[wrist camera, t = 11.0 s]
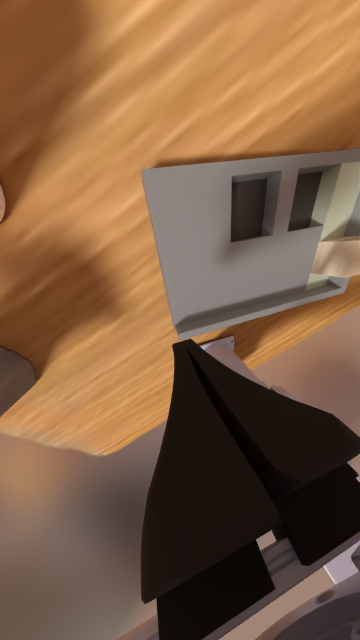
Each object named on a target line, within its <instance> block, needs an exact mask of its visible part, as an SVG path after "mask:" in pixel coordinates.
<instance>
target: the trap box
mask: <svg viewBox="0 0 360 640" xmlns="http://www.w3.org/2000/svg"><path fill="white" fill-rule="evenodd" d="M142 182H143V187H144V192H145V196H146V201H147V206H148V211H149V215H150V220H151V225H152V229H153V234H154V239H155V243H156V248H157V253H158V257H159V262H160V267H161V272H162V276H163V281H164V286H165V290H166V295H167V300H168V304H169V309H170V314H171V318H172V323H173V327H174V329H175V331H176V333H177V336H178V338H179V340H184V339H187V338H190V337H194V336H197V335H201V334H204V333H208V332H211V331H215V330H218V329H222V328H225V327H228V326H232V325H235V324H239V323H242V322H246V321H249V320H253V319H256V318H260V317H263V316H266V315H270V314H273V313H277V312H280V311H284V310H287V309H291V308H294V307H298V306H301V305H304V304H308V303H311V302H315V301H318V300H322V299H325V298H329V297H332V296H335V295H339V294H342V293H344V292H345V290H346V287H347V285H348V283H349V281H350V278H351V277H347V278H341V277H334V276H327V275H320V274H313V273H310V272H311V269H312V265H313V262H314V258H315V255H316V252H317V248H318V245H319V242H322V241H326V240H331V239H336V238H340V237H351V236H360V149H350V150H339V151H329V152H318V153H308V154H297V155H287V156H276V157H266V158H255V159H245V160H234V161H224V162H213V163H203V164H192V165H182V166H171V167H161V168H150V169H142Z"/></svg>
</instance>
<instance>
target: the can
mask: <svg viewBox="0 0 360 640" xmlns="http://www.w3.org/2000/svg"><path fill="white" fill-rule="evenodd" d="M4 213H5V198H4V194H3V190H2V188H1V185H0V221H1V220H2V218H3V216H4Z"/></svg>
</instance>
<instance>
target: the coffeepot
mask: <svg viewBox="0 0 360 640" xmlns="http://www.w3.org/2000/svg"><path fill="white" fill-rule="evenodd" d="M35 384H36V374H35V370H34V368H33V366H32V365H31V363H30V362H29V361H28V360H27V359H25V358H24V357H23V356H21V355H19V354H18V353H16V352H13V351H11V350H9V349H5V348H2V347H0V417H1V416H2V415H3V414H4V413H5V412H6V411H7V410H8V409H9V408H10V407H11V406H12V405H14V404H15V403H16V402H17V401H18V400H19V399H20V398H21V397H22V396H23V395H24V394H25V393H26V392H27V391H28V390H30V389H31V388H32V387H33V386H34V385H35Z"/></svg>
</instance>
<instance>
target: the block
mask: <svg viewBox="0 0 360 640" xmlns="http://www.w3.org/2000/svg"><path fill="white" fill-rule="evenodd" d="M310 273H313V274H320V275H327V276H334V277H341V278H347V277H351V276H355V275H358V274H360V236H351V237H340V238H336V239H331V240H326V241H322V242H319V245H318V248H317V252H316V255H315V258H314V262H313V265H312V269H311V272H310Z"/></svg>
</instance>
